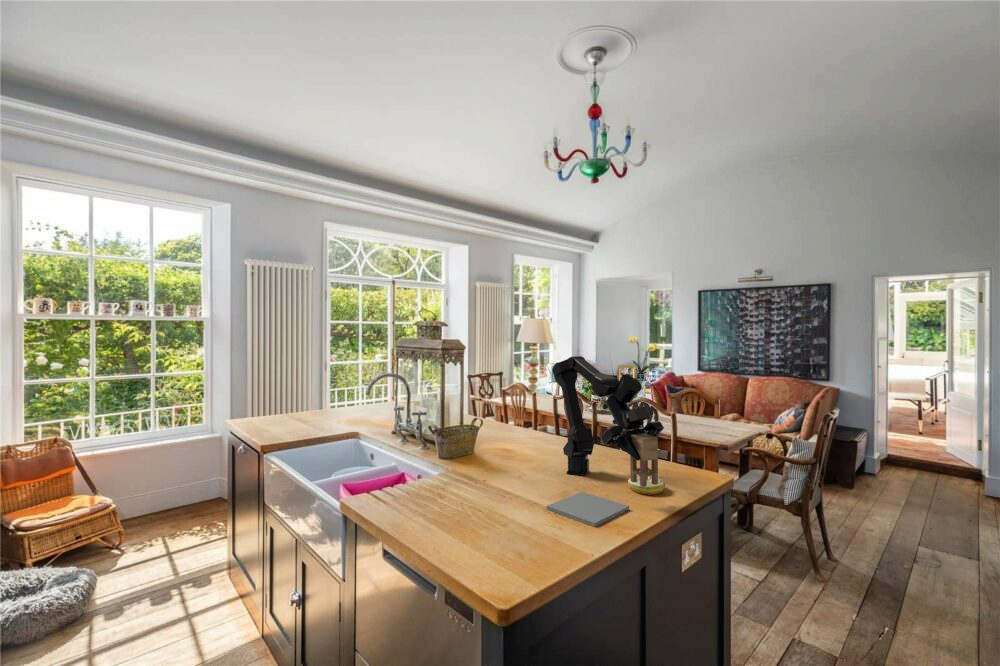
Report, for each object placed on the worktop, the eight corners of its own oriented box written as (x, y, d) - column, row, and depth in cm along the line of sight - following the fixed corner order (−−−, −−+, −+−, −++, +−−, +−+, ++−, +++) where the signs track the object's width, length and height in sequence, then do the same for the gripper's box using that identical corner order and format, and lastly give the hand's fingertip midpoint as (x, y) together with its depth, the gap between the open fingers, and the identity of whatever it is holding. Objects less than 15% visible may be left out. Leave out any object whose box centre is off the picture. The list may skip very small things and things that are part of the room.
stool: (630, 481, 131) (630, 435, 131) (645, 478, 133) (644, 433, 133) (643, 486, 126) (642, 439, 126) (657, 484, 128) (657, 437, 128)
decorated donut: (648, 483, 149) (648, 471, 149) (672, 493, 139) (671, 481, 139) (621, 487, 146) (621, 475, 146) (643, 498, 136) (643, 485, 136)
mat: (546, 509, 127) (546, 505, 127) (582, 494, 138) (581, 491, 138) (594, 527, 116) (594, 523, 116) (629, 509, 127) (629, 506, 127)
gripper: (607, 398, 129) (634, 446, 119) (659, 393, 137) (688, 439, 127) (591, 421, 137) (615, 468, 127) (641, 416, 144) (667, 460, 134)
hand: (647, 458), depth 128 cm, fingers closed on stool, 5 cm apart
